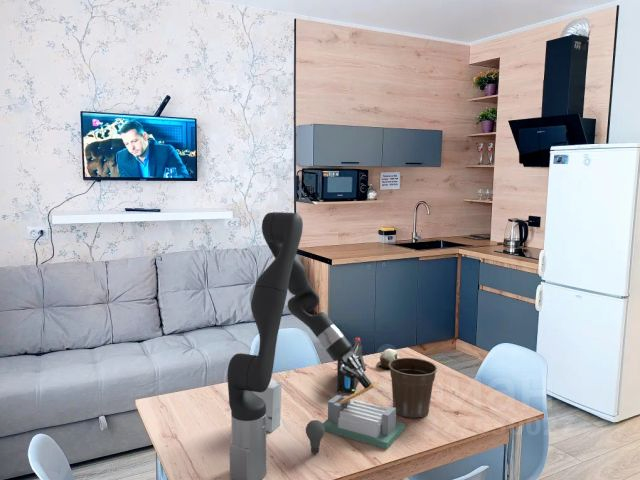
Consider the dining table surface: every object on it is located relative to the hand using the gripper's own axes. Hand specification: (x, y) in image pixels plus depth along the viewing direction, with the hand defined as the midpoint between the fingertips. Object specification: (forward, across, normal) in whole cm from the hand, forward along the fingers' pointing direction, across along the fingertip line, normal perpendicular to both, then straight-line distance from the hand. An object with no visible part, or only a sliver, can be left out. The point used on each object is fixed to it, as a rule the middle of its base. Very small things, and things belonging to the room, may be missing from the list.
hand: (368, 386), depth 167 cm
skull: (-1, +56, +22) cm, 60 cm away
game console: (-6, +32, +27) cm, 42 cm away
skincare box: (-10, -14, +31) cm, 36 cm away
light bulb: (+5, -20, +16) cm, 26 cm away
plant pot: (+15, +21, +6) cm, 27 cm away
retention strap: (0, 0, +5) cm, 5 cm away
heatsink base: (+9, 0, +12) cm, 15 cm away
